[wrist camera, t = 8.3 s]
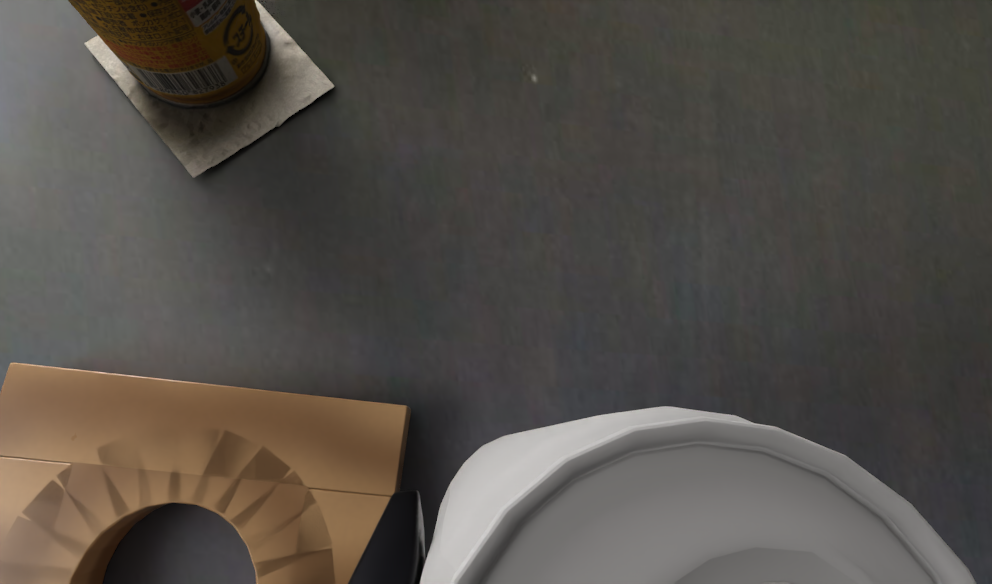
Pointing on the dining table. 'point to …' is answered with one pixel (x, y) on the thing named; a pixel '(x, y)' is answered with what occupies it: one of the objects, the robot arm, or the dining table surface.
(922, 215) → the dining table surface
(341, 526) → the coaster pad
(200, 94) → the condiment
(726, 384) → the dining table surface
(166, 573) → the dining table surface
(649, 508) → the beverage can
